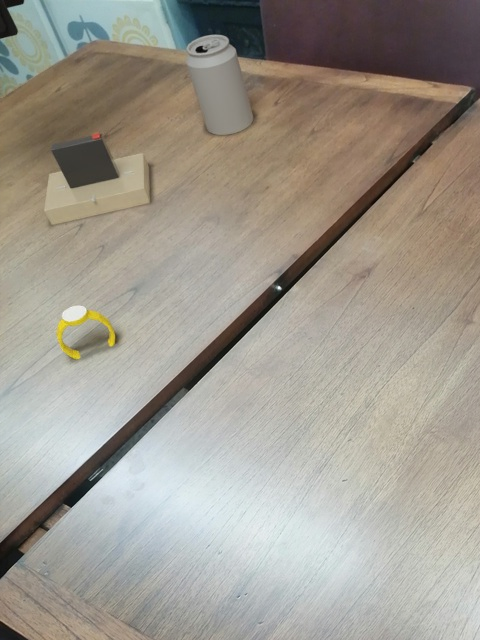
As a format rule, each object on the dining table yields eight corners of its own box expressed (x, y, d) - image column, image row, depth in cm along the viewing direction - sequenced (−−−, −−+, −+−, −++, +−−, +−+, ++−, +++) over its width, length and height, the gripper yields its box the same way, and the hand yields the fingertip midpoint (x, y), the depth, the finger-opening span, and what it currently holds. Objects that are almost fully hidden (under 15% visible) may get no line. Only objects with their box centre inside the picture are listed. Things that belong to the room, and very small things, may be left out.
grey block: (70, 188, 97) (49, 148, 93) (70, 182, 98) (50, 142, 94) (119, 177, 98) (100, 136, 93) (119, 172, 99) (101, 131, 94)
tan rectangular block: (54, 232, 97) (42, 211, 94) (59, 191, 104) (48, 170, 101) (152, 210, 97) (143, 189, 95) (151, 170, 104) (142, 149, 101)
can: (204, 124, 110) (177, 40, 100) (248, 111, 111) (226, 26, 101) (213, 145, 106) (186, 59, 96) (260, 131, 107) (238, 44, 97)
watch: (74, 370, 80) (47, 330, 75) (70, 356, 81) (44, 316, 76) (124, 351, 81) (101, 310, 76) (119, 338, 82) (96, 296, 77)
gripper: (-107, -181, 75) (-13, 2, 89) (-141, -142, 65) (-30, 57, 79) (-40, -197, 75) (44, -12, 89) (-63, -160, 66) (34, 41, 80)
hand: (9, 20), depth 84 cm, fingers open, 9 cm apart
